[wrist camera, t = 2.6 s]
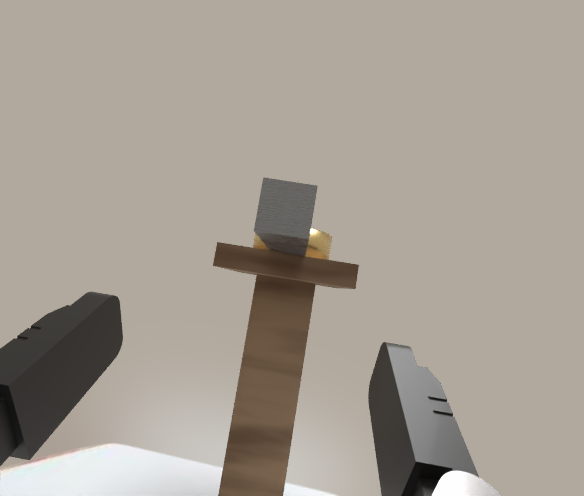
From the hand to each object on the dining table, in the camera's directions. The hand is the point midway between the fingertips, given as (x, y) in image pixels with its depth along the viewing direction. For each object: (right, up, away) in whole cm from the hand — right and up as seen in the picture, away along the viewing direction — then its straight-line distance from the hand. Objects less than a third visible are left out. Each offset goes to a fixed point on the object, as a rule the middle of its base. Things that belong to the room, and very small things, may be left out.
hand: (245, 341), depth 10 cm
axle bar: (+1, +2, +18) cm, 18 cm away
